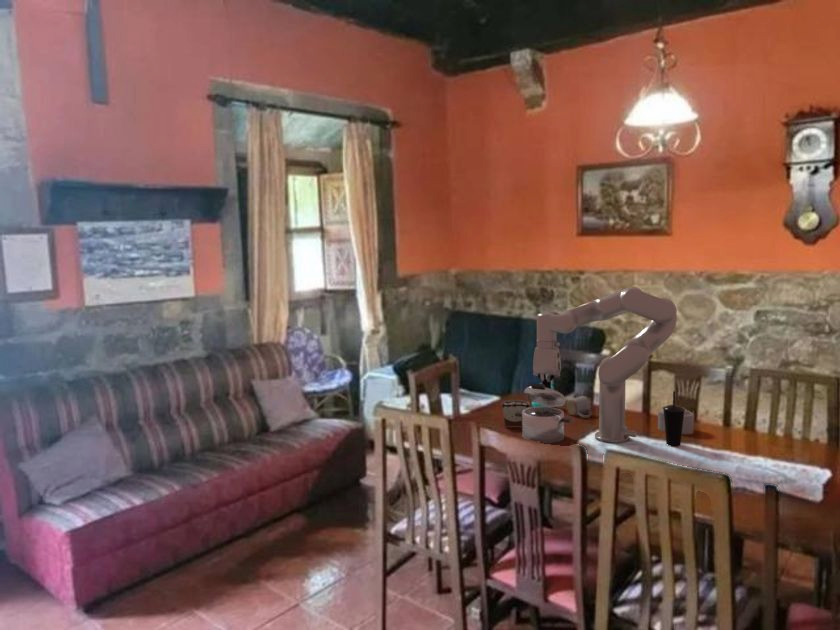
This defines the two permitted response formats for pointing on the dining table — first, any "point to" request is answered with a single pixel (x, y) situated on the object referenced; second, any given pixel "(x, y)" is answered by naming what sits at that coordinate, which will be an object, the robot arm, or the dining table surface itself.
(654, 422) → the dining table surface
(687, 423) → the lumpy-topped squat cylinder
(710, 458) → the dining table surface
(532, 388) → the lid
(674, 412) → the drinking cup
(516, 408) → the food container
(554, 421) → the pot
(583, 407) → the ceramic mug
